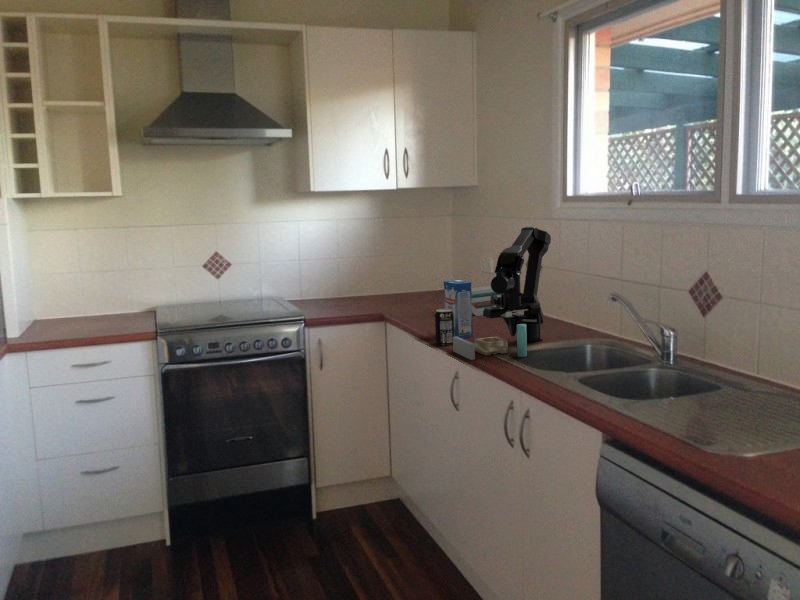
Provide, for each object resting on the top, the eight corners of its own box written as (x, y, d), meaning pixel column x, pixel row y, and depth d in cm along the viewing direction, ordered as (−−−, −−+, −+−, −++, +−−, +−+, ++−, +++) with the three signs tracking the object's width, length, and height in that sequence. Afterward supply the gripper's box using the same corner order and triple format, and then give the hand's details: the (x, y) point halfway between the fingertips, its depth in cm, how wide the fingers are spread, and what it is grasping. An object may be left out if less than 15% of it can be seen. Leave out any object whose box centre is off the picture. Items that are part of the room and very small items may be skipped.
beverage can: (443, 341, 259) (442, 308, 257) (458, 342, 254) (457, 309, 253) (432, 344, 254) (430, 310, 252) (447, 346, 249) (446, 312, 248)
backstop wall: (457, 351, 242) (457, 336, 241) (475, 359, 228) (474, 343, 228) (453, 351, 241) (452, 336, 240) (470, 359, 228) (470, 344, 227)
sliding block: (496, 348, 243) (496, 336, 242) (507, 352, 235) (507, 340, 235) (474, 350, 240) (474, 338, 240) (485, 355, 233) (485, 343, 232)
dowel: (524, 354, 232) (523, 323, 231) (528, 356, 229) (528, 325, 228) (515, 355, 231) (515, 324, 230) (520, 357, 228) (519, 326, 227)
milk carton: (445, 334, 271) (443, 281, 268) (460, 332, 273) (458, 279, 270) (457, 338, 262) (456, 283, 259) (473, 336, 264) (471, 282, 261)
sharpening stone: (462, 317, 304) (461, 292, 303) (453, 315, 311) (452, 290, 310) (511, 311, 315) (511, 286, 314) (501, 308, 322) (500, 284, 321)
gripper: (525, 284, 248) (526, 329, 250) (475, 289, 242) (476, 335, 244) (541, 288, 237) (542, 334, 240) (490, 293, 232) (491, 340, 234)
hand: (512, 336), depth 240 cm, fingers closed
